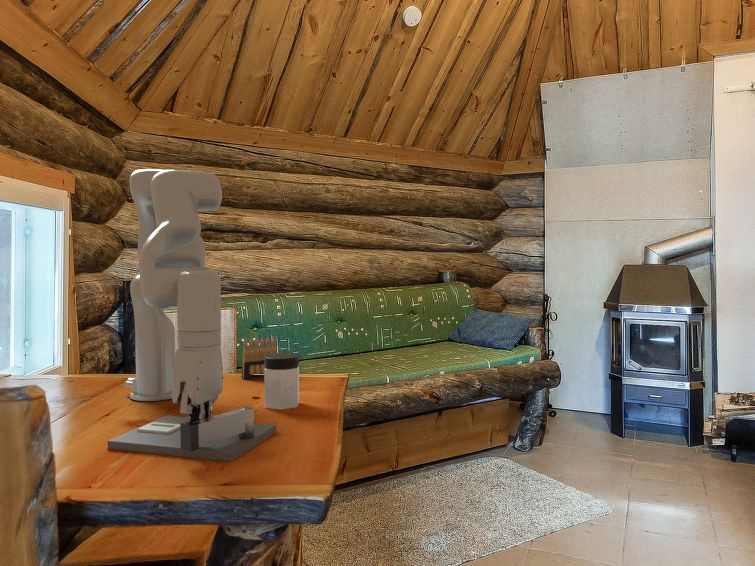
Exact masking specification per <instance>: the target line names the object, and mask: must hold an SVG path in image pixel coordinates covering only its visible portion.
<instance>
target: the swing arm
mask: <svg viewBox="0 0 755 566" xmlns="http://www.w3.org/2000/svg"><path fill="white" fill-rule="evenodd" d="M254 423H255V407H253V406H241V407H238V408H236V409H233V410H230V411H227V412H222V413H220V414H216V415H211V416H209V417H208V418H205V419H201V420H198V421H194V422H184V423H180V434H181V449H184V450H187V451H191V452H192V451H195V450H198V449H199V447H200V446H203V445H206V444H209V443H213V442H216V441H219V440H222V439H225V438H228V437H231V436H234V435H237V434H238V437H240V438H249V437H253V436H254Z"/></svg>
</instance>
